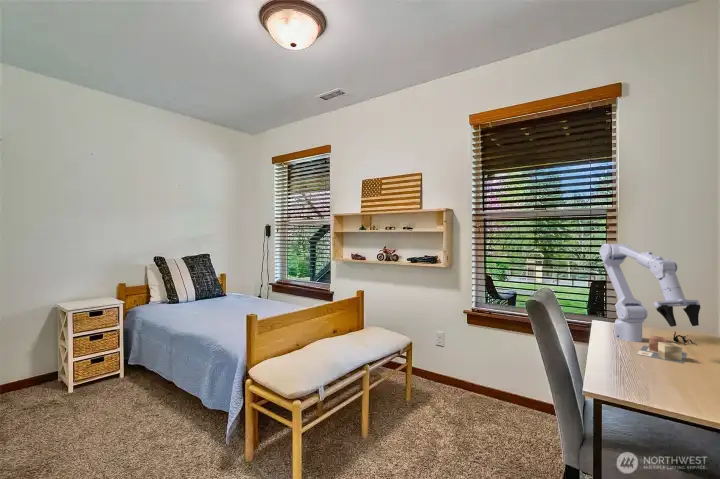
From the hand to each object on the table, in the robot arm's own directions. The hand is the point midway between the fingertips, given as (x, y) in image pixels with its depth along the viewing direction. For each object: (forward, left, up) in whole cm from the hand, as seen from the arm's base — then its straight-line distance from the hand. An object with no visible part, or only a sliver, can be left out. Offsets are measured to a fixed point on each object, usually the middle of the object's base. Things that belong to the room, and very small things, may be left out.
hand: (684, 326), depth 126 cm
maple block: (-4, -4, -12) cm, 13 cm away
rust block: (-8, +4, -12) cm, 15 cm away
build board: (-6, 0, -13) cm, 14 cm away
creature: (-1, +25, -13) cm, 29 cm away
